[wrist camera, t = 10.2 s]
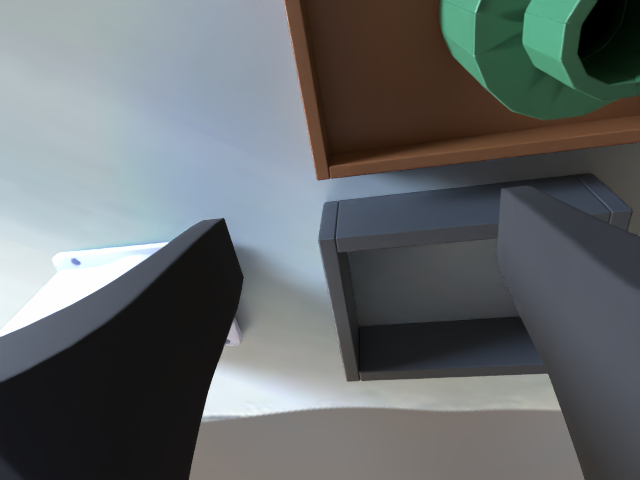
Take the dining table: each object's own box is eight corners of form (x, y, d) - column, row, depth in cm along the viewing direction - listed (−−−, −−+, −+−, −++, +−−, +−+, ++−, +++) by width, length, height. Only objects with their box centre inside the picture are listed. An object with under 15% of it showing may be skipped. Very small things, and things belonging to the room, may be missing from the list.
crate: (347, 336, 26) (346, 382, 23) (323, 202, 21) (317, 239, 18) (562, 323, 24) (590, 372, 21) (592, 172, 19) (634, 209, 16)
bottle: (439, 82, 17) (493, 164, 10) (437, -69, 14) (510, -102, 7) (572, 63, 16) (733, 136, 9) (597, -102, 14) (850, -174, 7)
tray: (320, 163, 20) (316, 181, 18) (266, -144, 14) (253, -159, 12) (700, 115, 18) (735, 131, 16) (828, -284, 12) (906, -326, 10)
